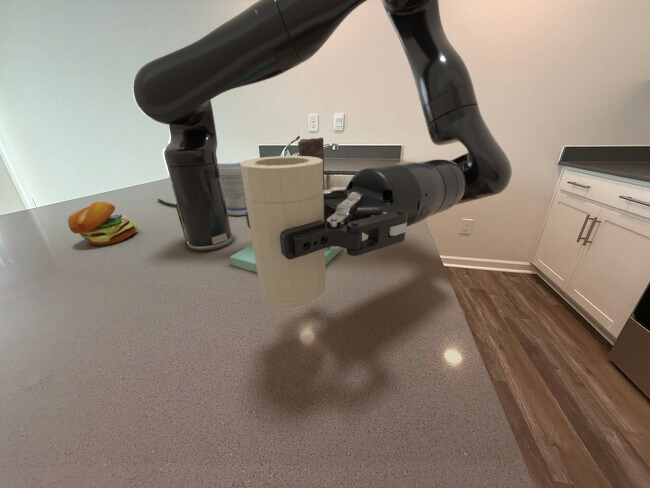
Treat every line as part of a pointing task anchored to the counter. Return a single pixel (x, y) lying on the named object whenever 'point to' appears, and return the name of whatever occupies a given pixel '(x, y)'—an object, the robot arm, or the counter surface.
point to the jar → (284, 224)
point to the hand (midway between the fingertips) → (263, 231)
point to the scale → (247, 261)
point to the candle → (312, 150)
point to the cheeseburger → (101, 224)
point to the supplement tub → (233, 186)
